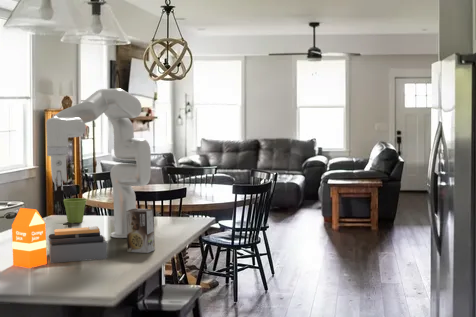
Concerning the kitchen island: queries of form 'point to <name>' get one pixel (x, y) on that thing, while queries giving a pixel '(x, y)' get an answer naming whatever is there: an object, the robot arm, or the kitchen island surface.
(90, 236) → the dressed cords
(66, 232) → the bar
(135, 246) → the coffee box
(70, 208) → the plant pot
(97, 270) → the kitchen island surface
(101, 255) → the box
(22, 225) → the orange juice
